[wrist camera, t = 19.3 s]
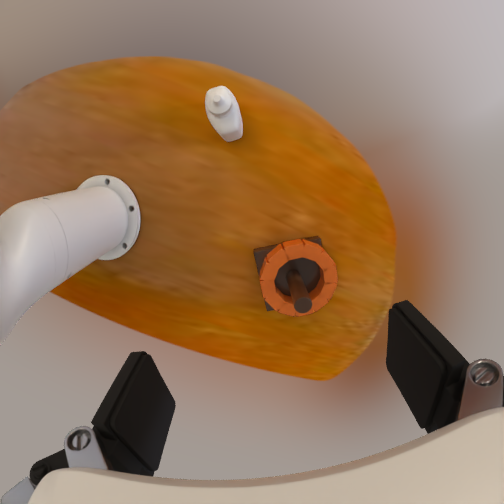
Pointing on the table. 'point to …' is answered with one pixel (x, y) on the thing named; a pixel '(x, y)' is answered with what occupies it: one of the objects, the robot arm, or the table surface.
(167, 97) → the table surface
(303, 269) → the post
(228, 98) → the eye dropper bottle
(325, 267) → the ring
